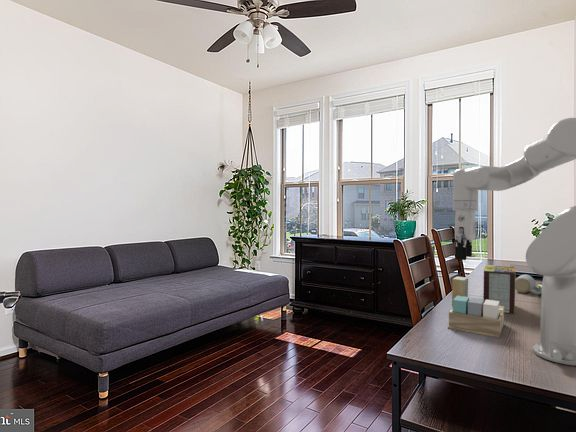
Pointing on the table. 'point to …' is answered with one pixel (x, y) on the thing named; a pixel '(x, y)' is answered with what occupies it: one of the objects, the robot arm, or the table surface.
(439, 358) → the table surface
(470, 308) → the slate key
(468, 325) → the tan wooden box
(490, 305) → the white rectangular block
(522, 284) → the ceramic mug
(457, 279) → the skincare box
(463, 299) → the teal key
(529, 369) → the table surface
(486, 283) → the protein box
